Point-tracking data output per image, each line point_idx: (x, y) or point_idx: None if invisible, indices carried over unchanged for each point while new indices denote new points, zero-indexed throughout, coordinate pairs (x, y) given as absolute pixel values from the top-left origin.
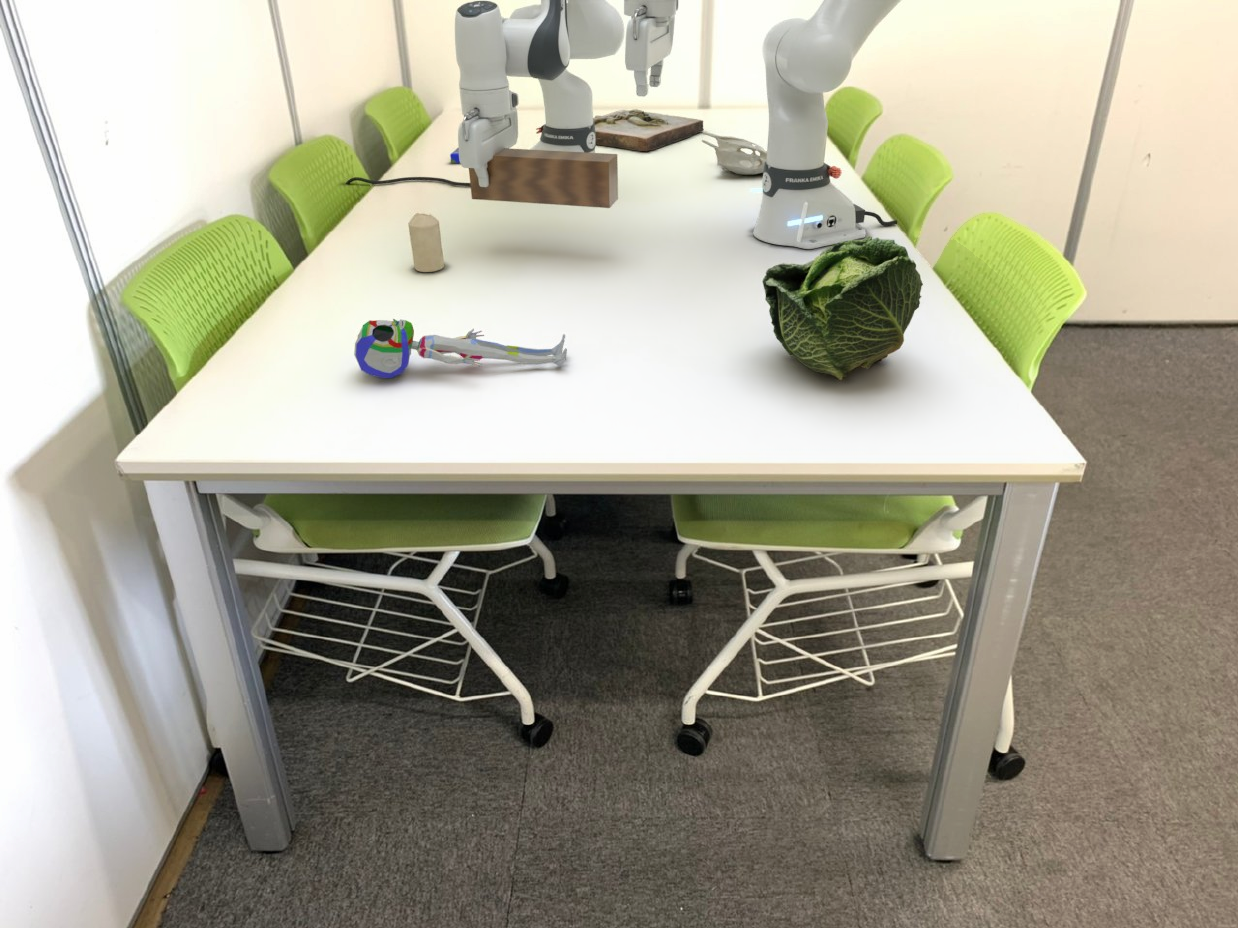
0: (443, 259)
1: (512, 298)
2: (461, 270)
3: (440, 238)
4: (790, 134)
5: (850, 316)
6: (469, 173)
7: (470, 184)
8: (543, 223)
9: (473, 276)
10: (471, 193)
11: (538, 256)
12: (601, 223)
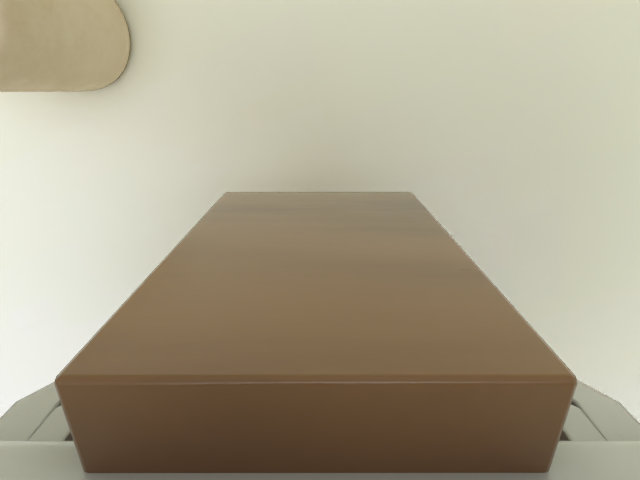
0: (95, 86)
1: (5, 355)
2: (114, 155)
3: (29, 89)
4: None
5: None
6: (170, 255)
7: (201, 220)
8: (606, 241)
9: (86, 212)
10: (215, 203)
11: None
12: (596, 387)
